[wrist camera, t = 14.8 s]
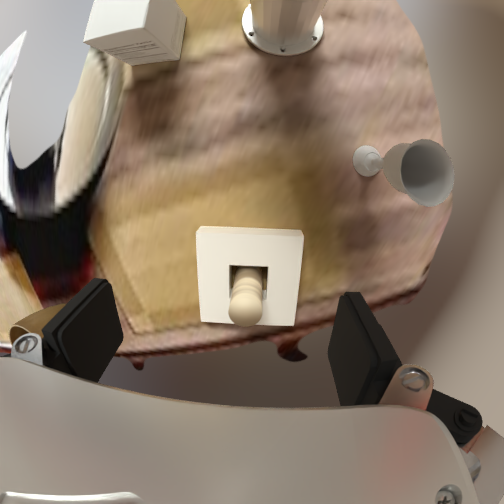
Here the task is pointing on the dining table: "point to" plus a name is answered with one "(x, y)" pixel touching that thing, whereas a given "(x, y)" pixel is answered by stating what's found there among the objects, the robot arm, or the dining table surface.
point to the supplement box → (137, 30)
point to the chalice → (411, 169)
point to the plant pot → (33, 323)
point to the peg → (246, 296)
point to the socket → (249, 254)
